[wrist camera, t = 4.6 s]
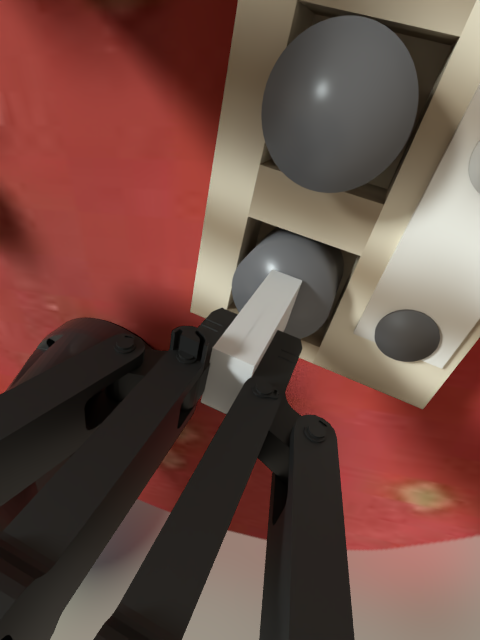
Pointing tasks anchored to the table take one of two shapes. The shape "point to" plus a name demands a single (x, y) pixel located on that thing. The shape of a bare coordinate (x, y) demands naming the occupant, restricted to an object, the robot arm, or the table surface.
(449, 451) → the table surface
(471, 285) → the button board
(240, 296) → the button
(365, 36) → the button middle
